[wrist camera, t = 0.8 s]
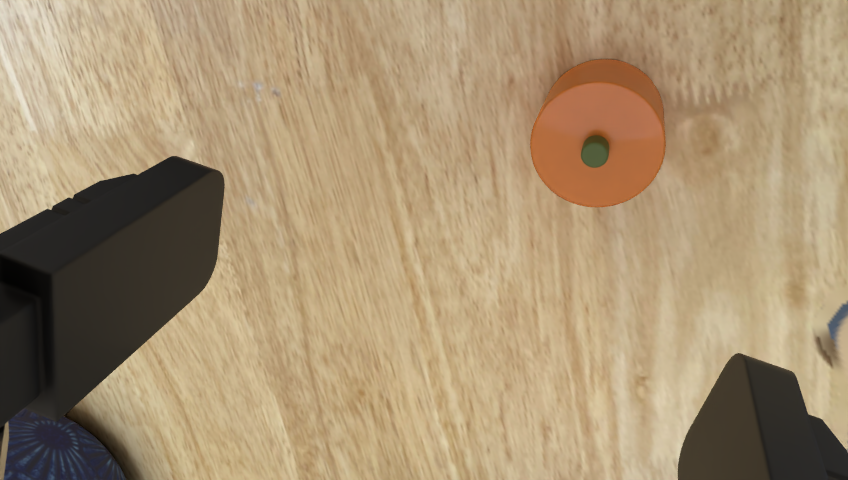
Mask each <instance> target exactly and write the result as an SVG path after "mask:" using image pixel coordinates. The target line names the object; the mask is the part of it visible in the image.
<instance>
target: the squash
mask: <svg viewBox="0 0 848 480" xmlns="http://www.w3.org/2000/svg"><path fill="white" fill-rule="evenodd" d="M665 147H666V141H665V125H664V112H663V105H662V100H661V97H660V94H659V92H658V90H657V88H656V86H655V85H654V84H653V82H652V81H651V80H650V79H649V78H648V76H647V75H646V74H644V73H643V72H642V71H641V70H639V69H637V68H636V67H634V66H632V65H630V64H628V63H625V62H621V61H618V60H611V59H599V60H592V61H588V62H585V63H582V64H579V65H577V66H575V67H573V68H572V69H570V70H569V71H567V72H566V73H564V74H563V75H562V76H561V77H560V78H559V79H558V80H557V82H556V83H555V84H554V85H553V87H552V88H551V90H550V92H549V94H548V96H547V98H546V100H545V102H544V104H543V106H542V108H541V110H540V112H539V115H538V117H537V119H536V121H535V123H534V126H533V129H532V134H531V143H530V149H531V156H532V160H533V164H534V166H535V169H536V171H537V173H538V175H539V176H540V178H541V179H542V181H543V182H544V183H545V185H546V186H547V187H548V188H549V189H550V190H552V191H553V192H554V193H555V194H557V195H558V196H560V197H561V198H563V199H565V200H567V201H569V202H571V203H574V204H578V205H582V206H587V207H607V206H613V205H616V204H620V203H623V202H625V201H627V200H630V199H631V198H633V197H635V196H636V195H638V194H639V193H641V192H642V191H643V190H644V189H645V188H646V187H647V186H648V185H649V184H650V183H651V182H652V181H653V179H654V178H655V177H656V175H657V173H658V171H659V170H660V167H661V165H662V162H663V159H664V155H665Z"/></svg>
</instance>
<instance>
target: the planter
mask: <svg viewBox="0 0 848 480" xmlns="http://www.w3.org/2000/svg"><path fill="white" fill-rule="evenodd" d="M8 426H9V442H8V449H7V457H6V465H5V473H4V480H126V478H125V475H124V473H123V472H122V470H121V468H120V466H119V465H118V463H117V462H116V460H115V459H114V458H113V456H112V455H111V454H110V452H109V451H108V450H107V449H106V448H105V447H104V445H103V444H102V443H101V442H100V441H99V440H98V439H96V438H95V437H94V436H93V435H92V434H91V433H89V432H88V431H87V430H86V429H84V428H83V427H81V426H80V425H78V424H77V423H75V422H73V421H72V420H70V419H68V418H66V417H64V416H63V417H62V418H61V419H60V420H58V421H57V422H56V421H53V420H51V419H48V418H46V417H44V416H41V415H39V414H36V413H34V412H32V411H29V410H27V409H22V410H21V411H20V412H19V413H18V414H16V415H15V416H14V417H13V418H12V419H10V420H9V421H8Z"/></svg>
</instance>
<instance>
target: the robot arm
mask: <svg viewBox="0 0 848 480" xmlns="http://www.w3.org/2000/svg"><path fill="white" fill-rule="evenodd" d="M223 197H224V178H223V175H222V173H221V172H220V171H218V170H215V169H212V168H209V167H206V166H204V165H201V164H198V163H195V162H192V161H189V160H186V159H183V158H180V157H177V156H172V157H169V158H167V159H166V160H164V161H162V162H160V163H158V164H157V165H155V166H153V167H151V168H149V169H148V170H146V171H144V172H142V173H140V174H139V175H136V174H130V175H126V176H121V177H117V178H112V179H108V180H103V181H99V182H97V183H96V184H94V185H92V186H90V187H88V188H86V189H84V190H82V191H80V192H79V193H77V194H75V195H74V197H73V199H72V198H67V199H65V200H63V201H62V202H60V203H58V204H56V205H54V206H53V208H52V210H49V209H46V210H45V211H43V212H41V213H39V214H37V215H35V216H33V217H31V218H29V219H28V220H26V221H24V222H22V223H20V224H18V225H16V226H14V227H12V228H11V229H9V230H7V231H5V232H3V233H1V234H0V480H4V473H5V465H6V457H7V449H8V442H9V426H8V421H9V420H10V419H12V418H13V417H14V416H15V415H16V414H18V413H19V412H20V411H21V410H22V409H27V410H29V411H32V412H34V413H36V414H39V415H41V416H44V417H46V418H48V419H51V420H53V421H56V422H57V421H58V420H60V419H61V418H62V417H63V416H64V415H65V414H66V413H67V412H68V411H69V410H71V409H72V408H73V407H74V406H75V405H76V404H77V403H78V402H79V401H81V400H82V399H83V398H84V397H85V396H86V395H87V394H88V393H89V392H91V391H92V390H93V389H94V388H95V387H96V386H97V385H98V384H99V383H101V382H102V381H103V380H104V379H105V378H106V377H107V376H108V375H109V374H111V373H112V372H113V371H114V370H115V369H116V368H117V367H118V366H119V365H121V364H122V363H123V362H124V361H125V360H126V359H127V358H128V357H129V356H131V355H132V354H133V353H134V352H135V351H136V350H137V349H138V348H139V347H141V346H142V345H143V344H144V343H145V342H146V341H147V340H148V339H149V338H151V337H152V336H153V335H154V334H155V333H156V332H157V331H158V330H159V329H161V328H162V327H163V326H164V325H165V324H166V323H167V322H168V321H169V320H171V319H172V318H173V317H174V316H175V315H176V314H177V313H178V312H179V311H181V310H182V309H183V308H184V307H185V306H186V305H187V304H188V303H189V302H191V301H192V300H193V299H194V298H195V297H196V296H197V295H198V294H199V293H200V292H201V291H202V290H203V289H204V288H205V286H206V285H207V283H208V281H209V280H210V278H211V275H212V273H213V271H214V268H215V265H216V261H217V255H218V245H219V236H220V226H221V216H222V207H223ZM678 480H848V453H847V450H846V449H845V448H844V447H843V445H842V444H841V443H840V442H839V440H838V439H837V438H836V436H835V435H834V434H833V433H832V431H831V430H830V429H829V428H828V426H827V425H826V424H825V423H824V421H823V420H822V419H820V418H817V417H814V416H811V415H808V413H807V410H806V406H805V403H804V400H803V397H802V394H801V391H800V387H799V384H798V381H797V378H796V376H795V374H794V373H793V372H792V371H789V370H786V369H784V368H781V367H778V366H775V365H772V364H769V363H766V362H763V361H761V360H758V359H755V358H752V357H749V356H746V355H743V354H740V353H737V354H735V355H734V356H732V357H731V359H730V360H729V361H728V362H727V364H726V365H725V367H724V369H723V371H722V372H721V374H720V376H719V378H718V379H717V381H716V383H715V385H714V387H713V388H712V390H711V392H710V394H709V395H708V397H707V399H706V401H705V402H704V404H703V406H702V408H701V410H700V411H699V413H698V415H697V417H696V418H695V420H694V422H693V424H692V425H691V427H690V429H689V431H688V433H687V435H686V437H685V440H684V443H683V446H682V449H681V453H680V458H679V463H678Z"/></svg>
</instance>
